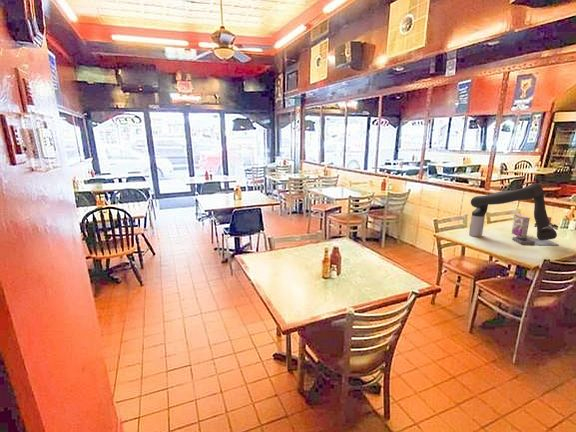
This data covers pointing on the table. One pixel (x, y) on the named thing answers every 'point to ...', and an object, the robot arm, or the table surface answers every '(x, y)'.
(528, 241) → the tie collar
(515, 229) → the candy bar box
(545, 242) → the slate mat
